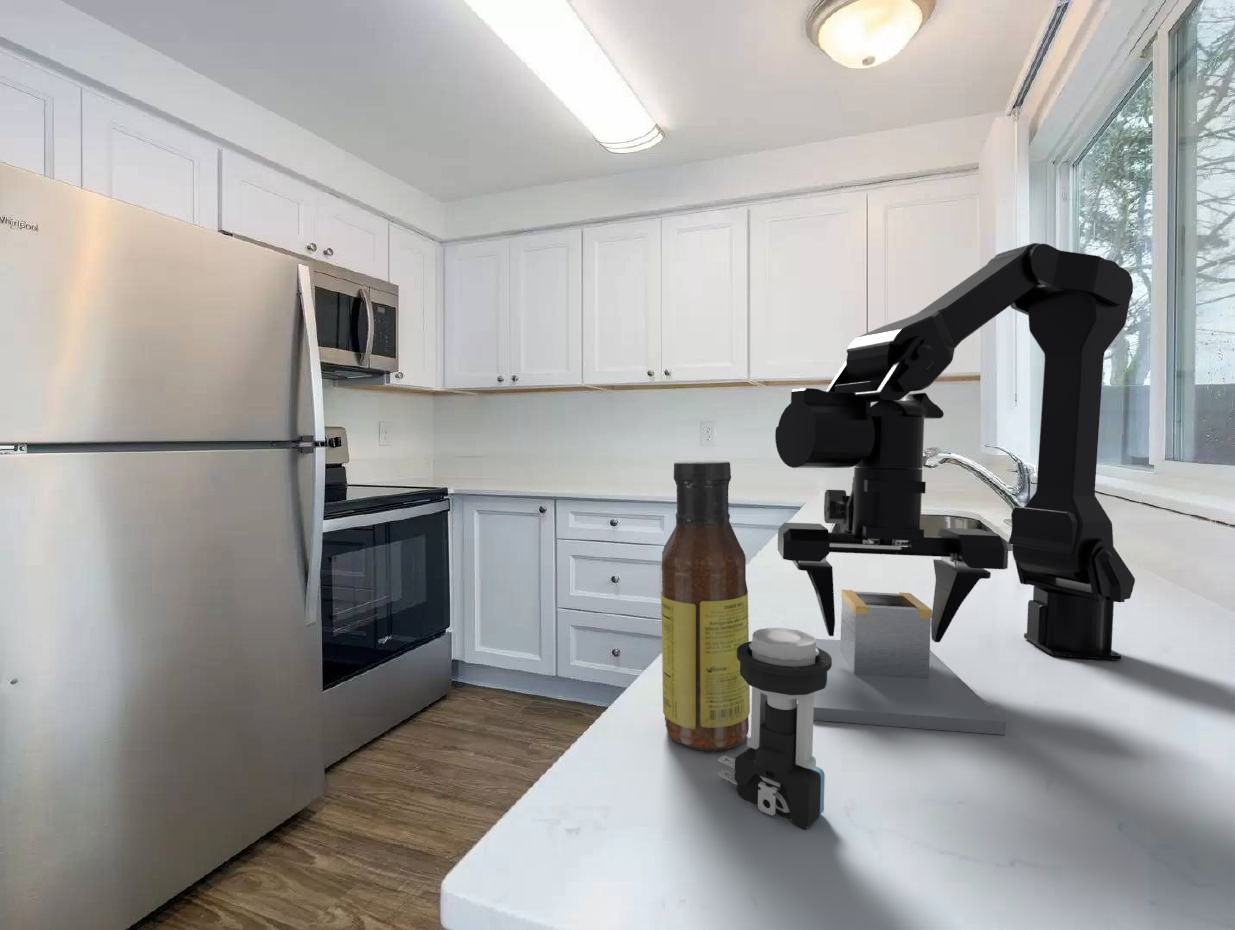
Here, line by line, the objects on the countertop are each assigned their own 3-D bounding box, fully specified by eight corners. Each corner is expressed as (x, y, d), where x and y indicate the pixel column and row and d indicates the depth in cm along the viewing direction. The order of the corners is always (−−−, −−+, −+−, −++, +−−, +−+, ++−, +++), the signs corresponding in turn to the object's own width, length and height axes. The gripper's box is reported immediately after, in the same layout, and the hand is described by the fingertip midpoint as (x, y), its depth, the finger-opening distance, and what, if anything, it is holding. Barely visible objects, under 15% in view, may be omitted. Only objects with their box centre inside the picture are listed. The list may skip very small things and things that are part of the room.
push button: (696, 797, 38) (700, 631, 38) (742, 765, 42) (746, 614, 42) (801, 846, 34) (806, 658, 33) (842, 804, 38) (847, 636, 37)
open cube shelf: (929, 679, 55) (932, 609, 55) (853, 674, 56) (855, 605, 56) (907, 655, 62) (909, 592, 61) (839, 651, 62) (841, 589, 62)
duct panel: (924, 654, 65) (927, 596, 65) (1004, 735, 47) (1008, 654, 47) (783, 646, 67) (784, 589, 67) (808, 719, 49) (810, 642, 49)
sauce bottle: (754, 723, 48) (761, 460, 48) (742, 762, 42) (749, 463, 42) (669, 710, 50) (675, 458, 50) (647, 745, 45) (653, 460, 44)
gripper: (963, 467, 65) (957, 619, 65) (774, 463, 68) (770, 609, 68) (1014, 472, 54) (1007, 655, 54) (786, 467, 57) (781, 642, 57)
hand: (882, 637), depth 59 cm, fingers open, 9 cm apart
